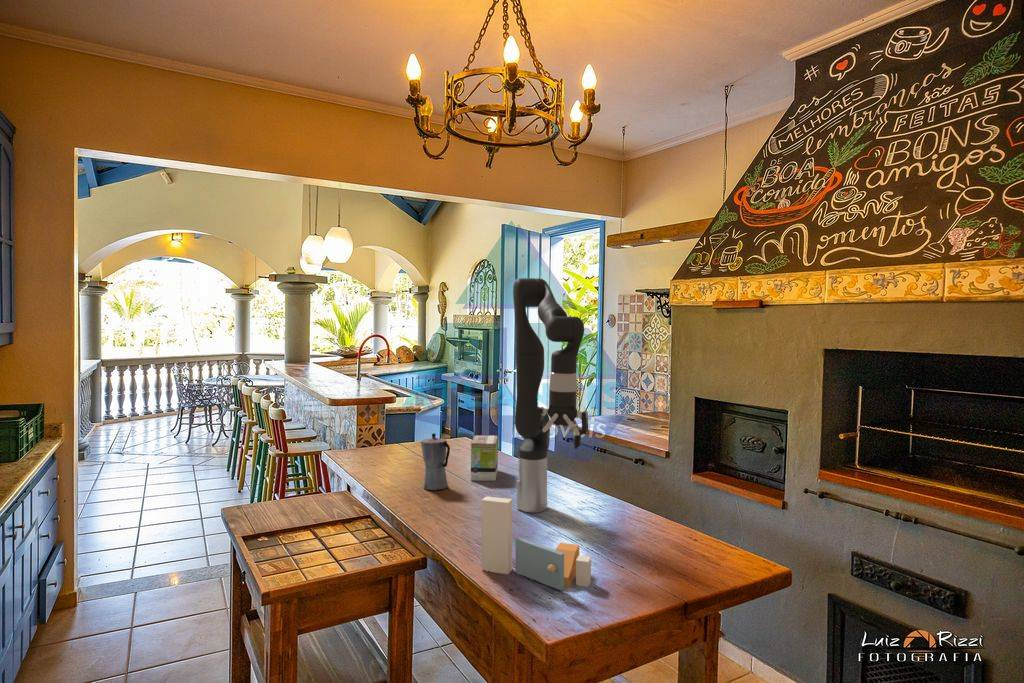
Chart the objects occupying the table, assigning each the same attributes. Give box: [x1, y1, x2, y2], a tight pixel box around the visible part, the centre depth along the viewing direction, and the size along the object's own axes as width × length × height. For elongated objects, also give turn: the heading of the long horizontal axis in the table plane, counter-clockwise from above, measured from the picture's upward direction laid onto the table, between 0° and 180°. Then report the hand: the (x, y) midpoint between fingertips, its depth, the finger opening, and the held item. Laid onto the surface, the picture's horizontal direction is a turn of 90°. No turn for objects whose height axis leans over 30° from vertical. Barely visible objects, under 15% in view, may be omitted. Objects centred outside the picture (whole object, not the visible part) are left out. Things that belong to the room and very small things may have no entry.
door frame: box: [481, 496, 592, 588], centre depth 141 cm, size 27×3×18 cm, turn 71°
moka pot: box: [420, 432, 451, 491], centre depth 212 cm, size 10×15×20 cm, turn 51°
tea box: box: [470, 434, 499, 482], centre depth 227 cm, size 15×10×15 cm
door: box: [514, 537, 565, 591], centre depth 137 cm, size 14×3×8 cm, turn 48°
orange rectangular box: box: [555, 542, 580, 589], centre depth 141 cm, size 11×5×6 cm, turn 160°
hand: (561, 446), depth 160 cm, fingers open, 8 cm apart
